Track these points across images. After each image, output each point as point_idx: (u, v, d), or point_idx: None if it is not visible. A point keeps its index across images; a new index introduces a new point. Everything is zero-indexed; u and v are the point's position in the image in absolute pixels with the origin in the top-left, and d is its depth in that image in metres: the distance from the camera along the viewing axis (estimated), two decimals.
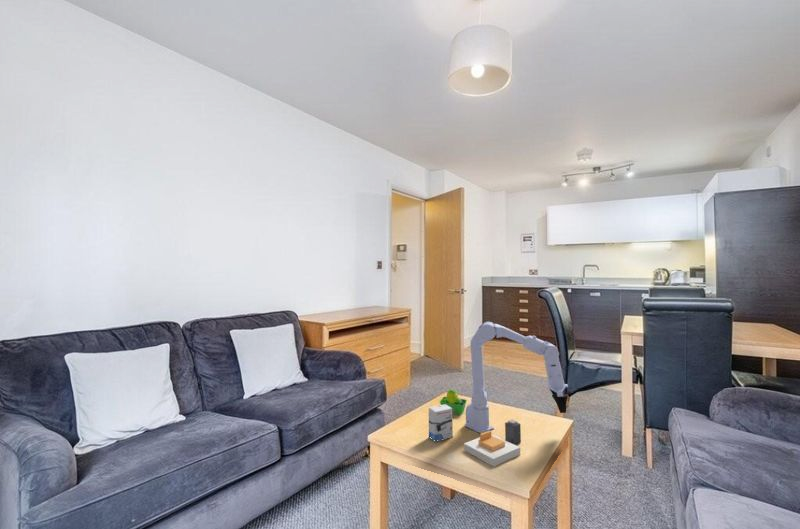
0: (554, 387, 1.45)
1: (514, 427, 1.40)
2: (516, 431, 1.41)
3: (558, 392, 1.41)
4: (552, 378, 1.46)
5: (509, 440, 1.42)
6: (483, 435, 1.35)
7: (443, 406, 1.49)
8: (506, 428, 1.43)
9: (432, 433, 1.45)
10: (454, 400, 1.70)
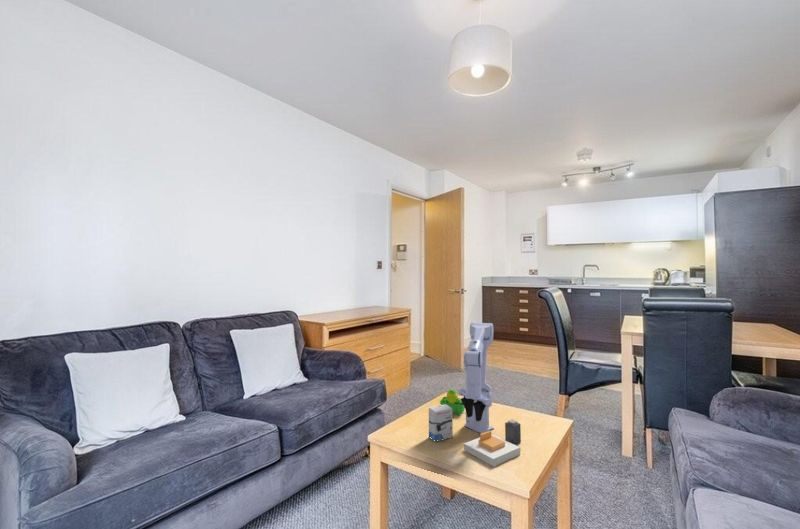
0: None
1: (514, 427, 1.40)
2: (516, 431, 1.41)
3: None
4: None
5: (509, 440, 1.42)
6: (483, 435, 1.35)
7: (443, 406, 1.49)
8: (506, 428, 1.43)
9: (432, 433, 1.45)
10: (454, 400, 1.70)
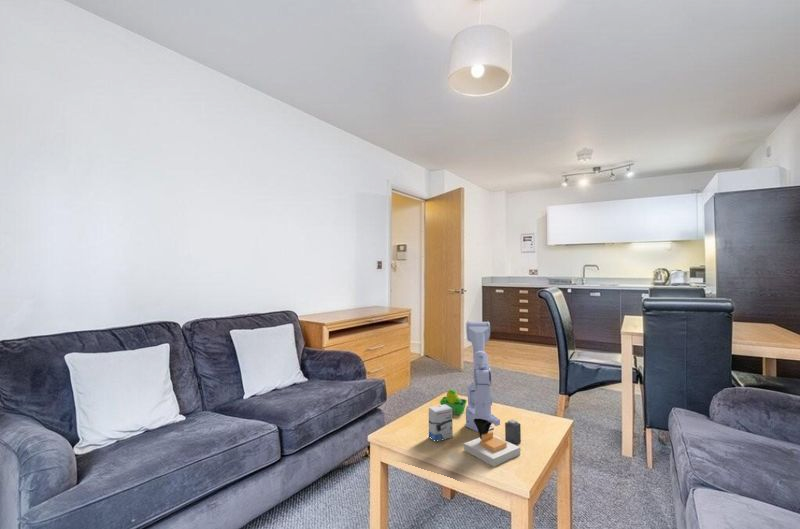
0: None
1: (514, 427, 1.40)
2: (516, 431, 1.41)
3: None
4: None
5: (509, 440, 1.42)
6: (485, 436, 1.35)
7: (443, 406, 1.49)
8: (506, 428, 1.43)
9: (432, 433, 1.45)
10: (454, 400, 1.70)
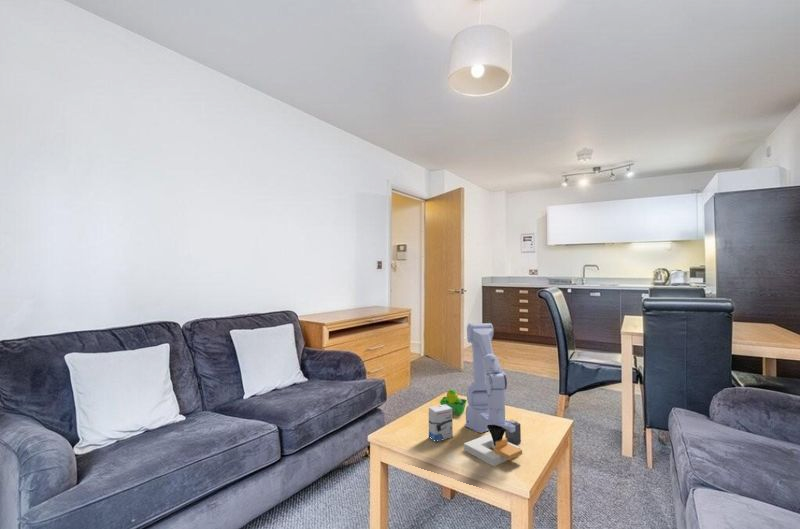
0: None
1: None
2: (516, 431, 1.41)
3: None
4: None
5: (509, 440, 1.42)
6: (499, 443, 1.29)
7: (443, 406, 1.49)
8: None
9: (432, 433, 1.45)
10: (454, 400, 1.70)
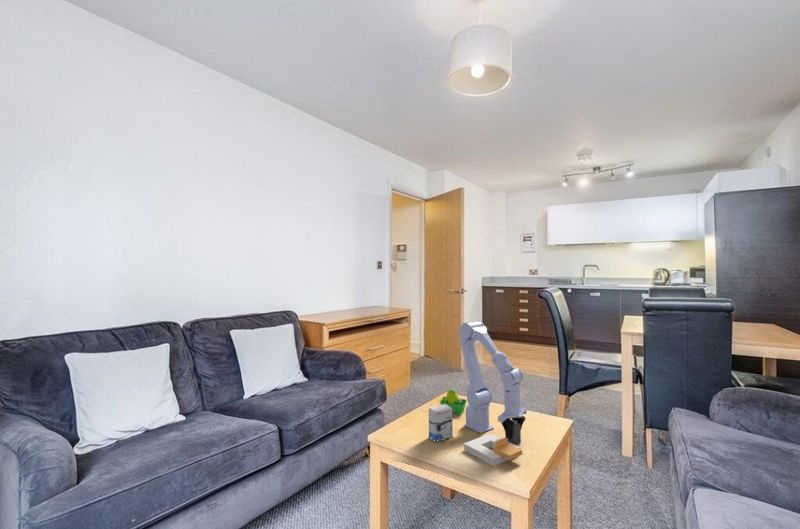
0: (505, 412, 1.42)
1: (514, 427, 1.40)
2: (516, 430, 1.41)
3: (498, 417, 1.39)
4: (505, 403, 1.42)
5: (509, 440, 1.41)
6: (499, 443, 1.29)
7: (443, 406, 1.49)
8: None
9: (432, 433, 1.45)
10: (454, 400, 1.70)
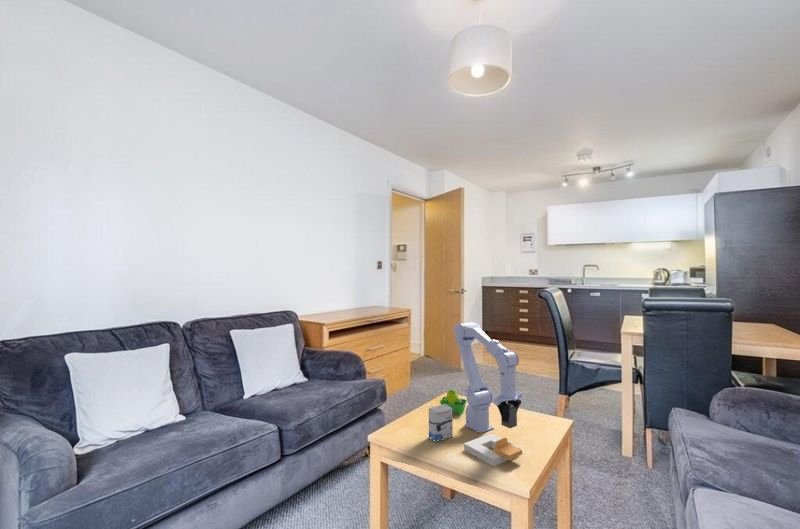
0: (501, 395, 1.41)
1: (510, 410, 1.39)
2: (512, 414, 1.39)
3: (494, 400, 1.37)
4: (501, 386, 1.41)
5: (505, 424, 1.40)
6: (499, 443, 1.29)
7: (443, 406, 1.49)
8: None
9: (432, 433, 1.45)
10: (454, 400, 1.70)
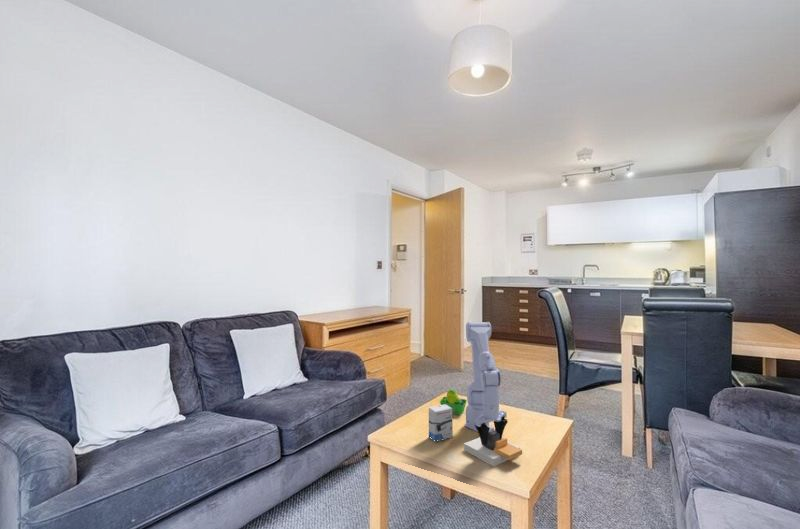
0: (483, 415, 1.34)
1: (493, 437, 1.32)
2: (495, 441, 1.32)
3: (476, 421, 1.31)
4: (483, 406, 1.34)
5: None
6: (499, 443, 1.29)
7: (443, 406, 1.49)
8: None
9: (432, 433, 1.45)
10: (454, 400, 1.70)
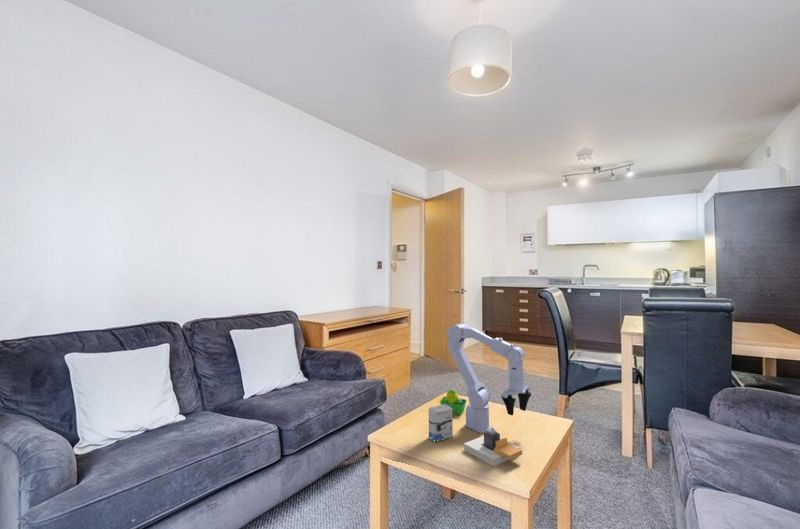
0: (509, 388, 1.47)
1: (493, 437, 1.32)
2: (495, 441, 1.32)
3: (503, 393, 1.44)
4: (509, 379, 1.47)
5: None
6: (499, 443, 1.29)
7: (443, 406, 1.49)
8: (485, 438, 1.34)
9: (432, 433, 1.45)
10: (454, 400, 1.70)
